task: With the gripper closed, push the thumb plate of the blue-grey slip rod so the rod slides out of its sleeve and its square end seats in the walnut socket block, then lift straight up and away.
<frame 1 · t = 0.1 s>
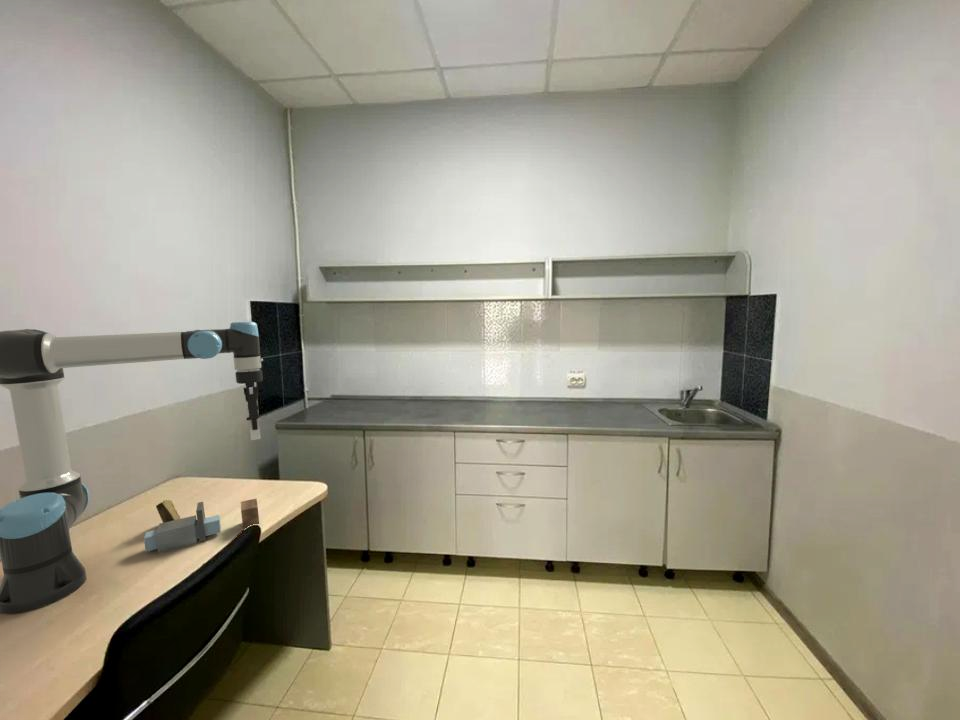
hand: (255, 434, 135), 28 cm above the table, fingers open, 13 cm apart
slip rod: (183, 525, 123), point 5 cm above the table, slide at 0.0 cm
sleeve: (179, 543, 123), on the table
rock: (174, 526, 133), on the table
socket block: (251, 525, 132), on the table
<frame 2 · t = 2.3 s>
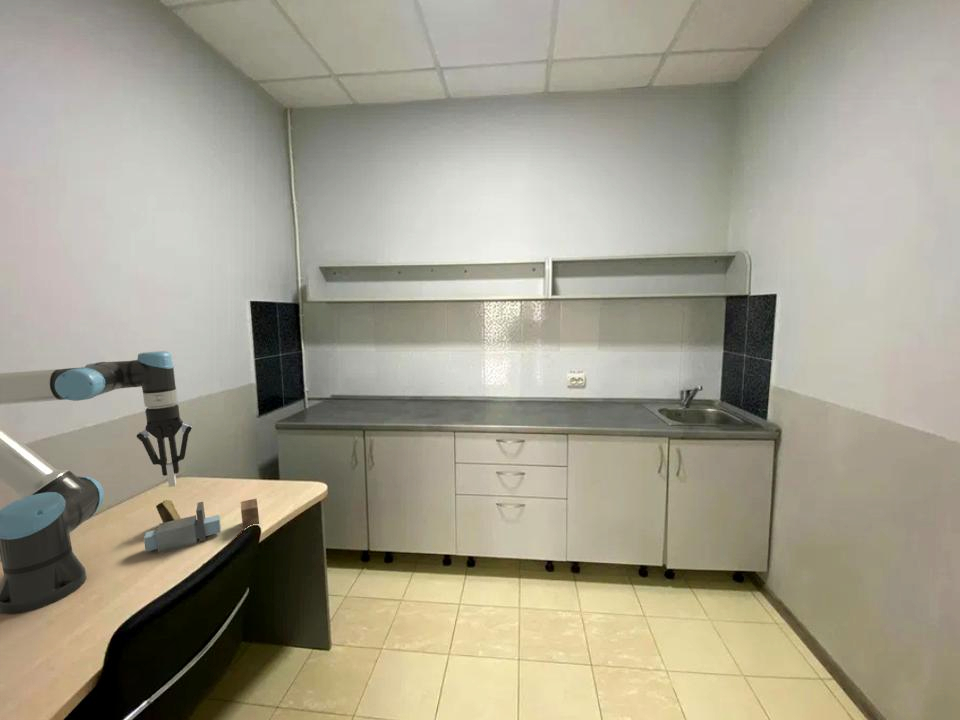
hand: (172, 484, 120), 18 cm above the table, fingers closed
nothing on the table moved.
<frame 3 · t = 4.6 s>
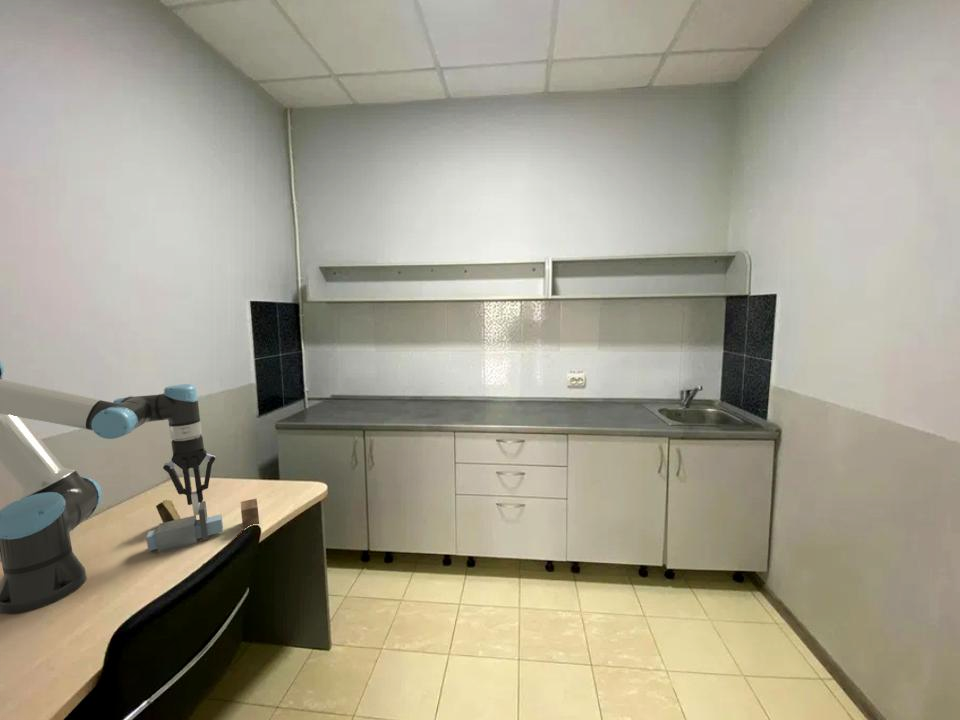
hand: (197, 513, 124), 8 cm above the table, fingers closed
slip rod: (185, 525, 123), point 5 cm above the table, slide at 0.6 cm, touching gripper
everything else where it was.
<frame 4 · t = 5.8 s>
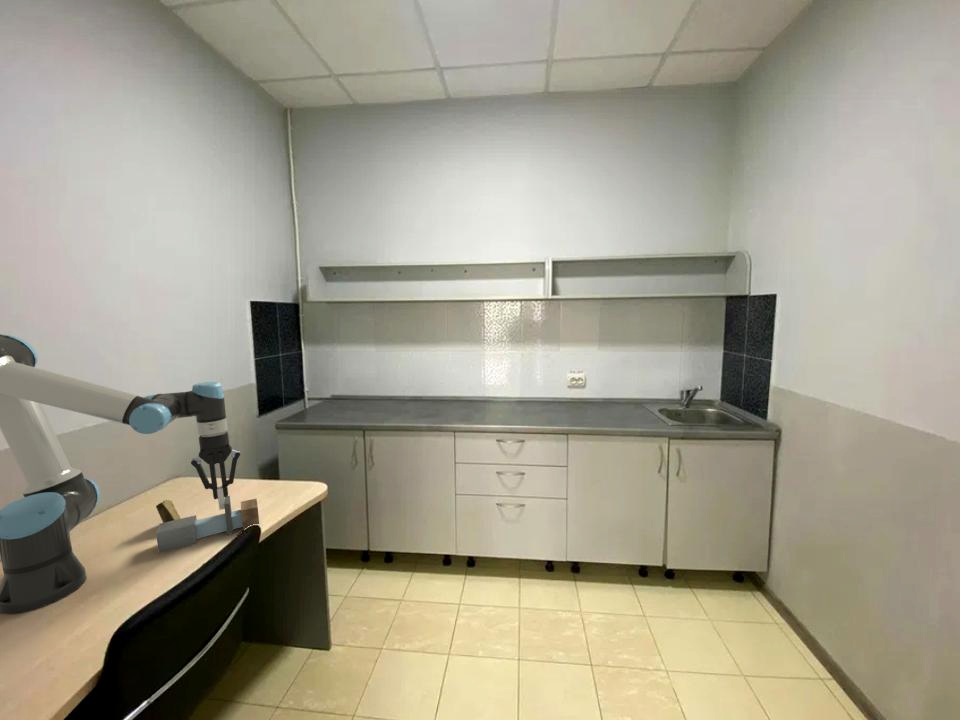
hand: (222, 507, 127), 8 cm above the table, fingers closed
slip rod: (211, 518, 126), point 5 cm above the table, slide at 7.1 cm, touching gripper
everything else where it was.
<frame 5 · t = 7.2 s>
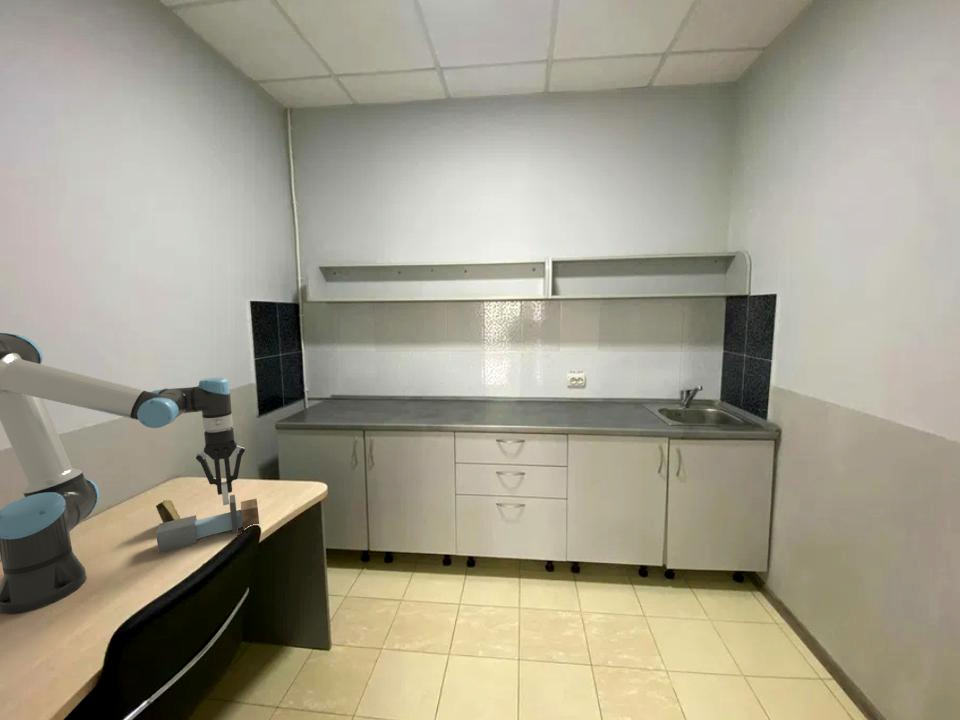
hand: (226, 503, 128), 9 cm above the table, fingers closed
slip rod: (216, 517, 127), point 5 cm above the table, slide at 8.4 cm
everything else where it was.
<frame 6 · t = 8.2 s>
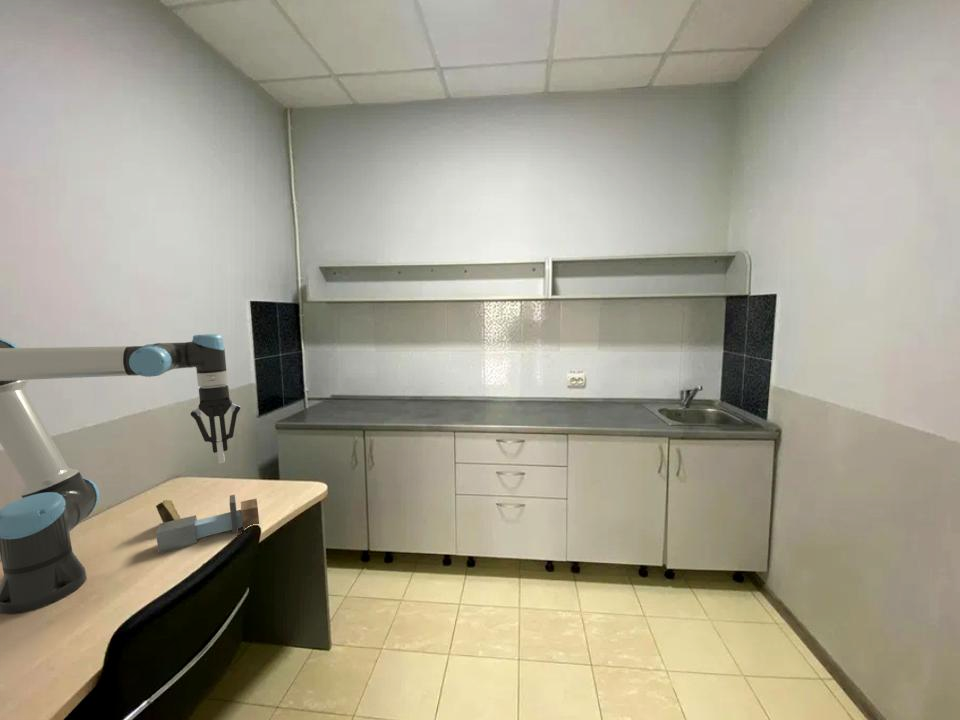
hand: (221, 461, 126), 22 cm above the table, fingers closed
nothing on the table moved.
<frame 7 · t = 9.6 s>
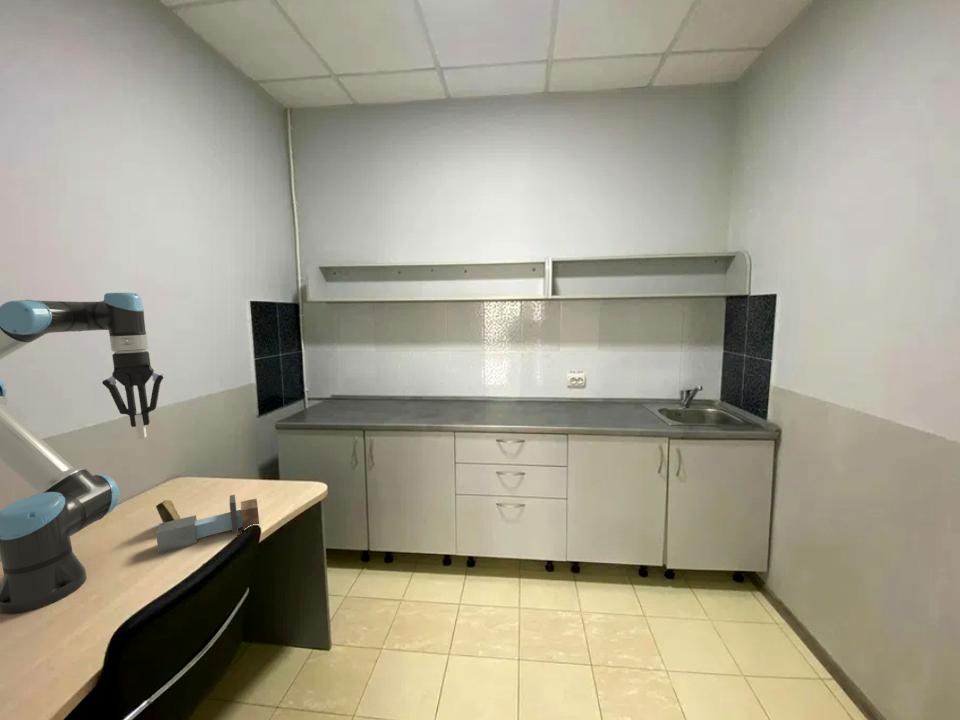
hand: (142, 437, 113), 34 cm above the table, fingers closed
nothing on the table moved.
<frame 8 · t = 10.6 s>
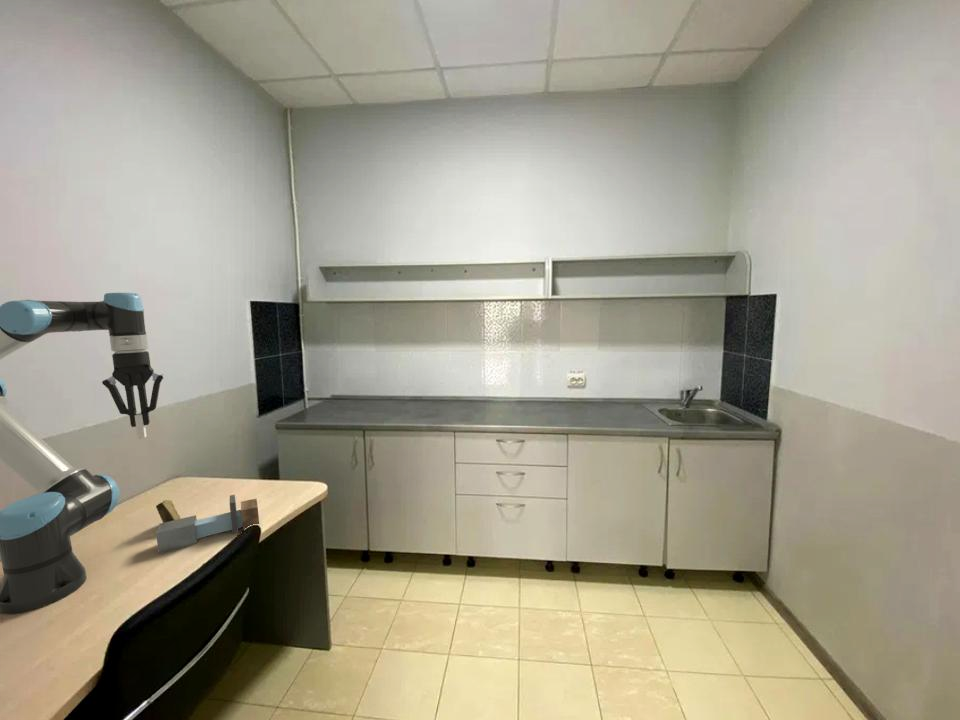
hand: (142, 437, 113), 34 cm above the table, fingers closed
nothing on the table moved.
at the end: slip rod slide at 8.4 cm; the gripper is holding nothing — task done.
